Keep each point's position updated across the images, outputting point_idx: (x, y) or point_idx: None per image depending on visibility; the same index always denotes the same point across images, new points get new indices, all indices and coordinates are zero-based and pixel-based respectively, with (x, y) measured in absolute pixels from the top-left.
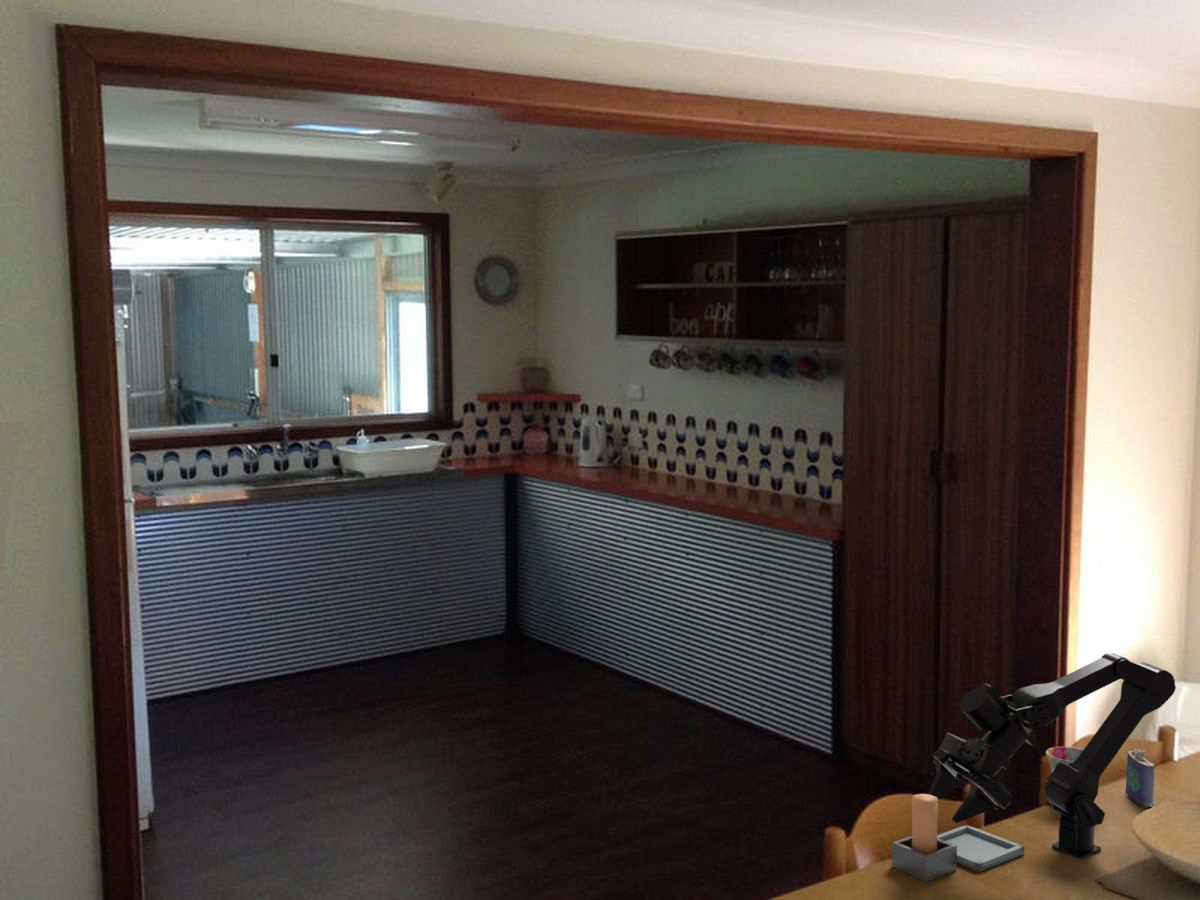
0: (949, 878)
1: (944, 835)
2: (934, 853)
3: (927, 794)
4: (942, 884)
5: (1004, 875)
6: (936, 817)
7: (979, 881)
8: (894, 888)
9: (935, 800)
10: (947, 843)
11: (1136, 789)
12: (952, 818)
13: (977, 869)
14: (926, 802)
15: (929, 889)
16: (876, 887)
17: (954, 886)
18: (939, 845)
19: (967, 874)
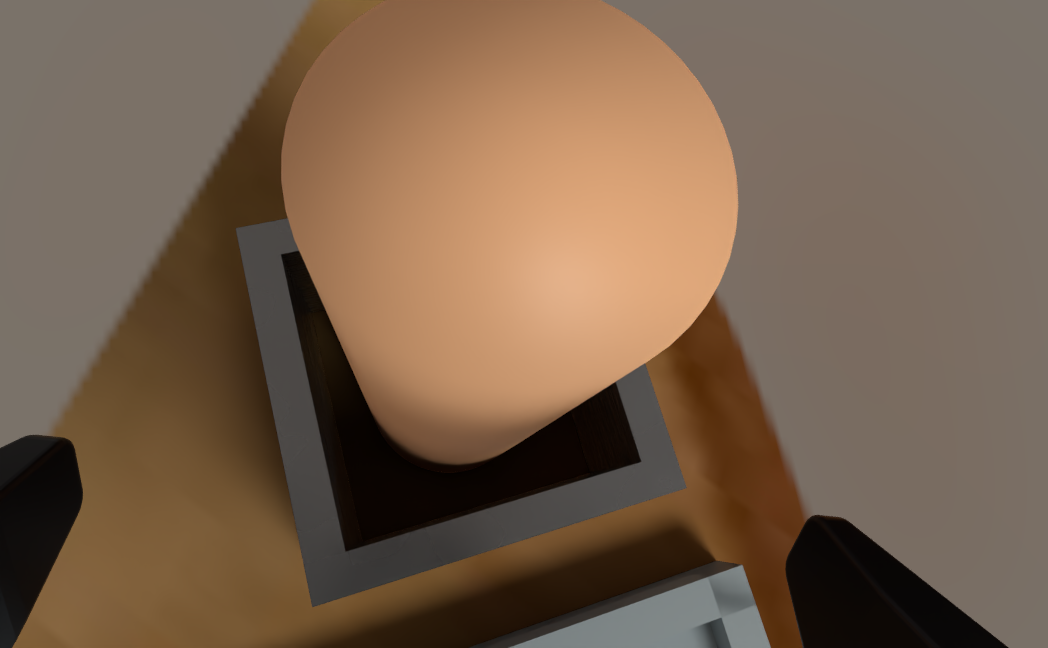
0: (253, 456)
1: None
2: (267, 320)
3: (675, 318)
4: (200, 358)
5: None
6: (344, 349)
7: (107, 631)
8: (291, 86)
9: (349, 267)
10: (395, 555)
11: None
12: (48, 440)
13: None
14: (339, 66)
15: (181, 244)
16: (346, 18)
17: (134, 411)
18: (462, 515)
19: (247, 618)
